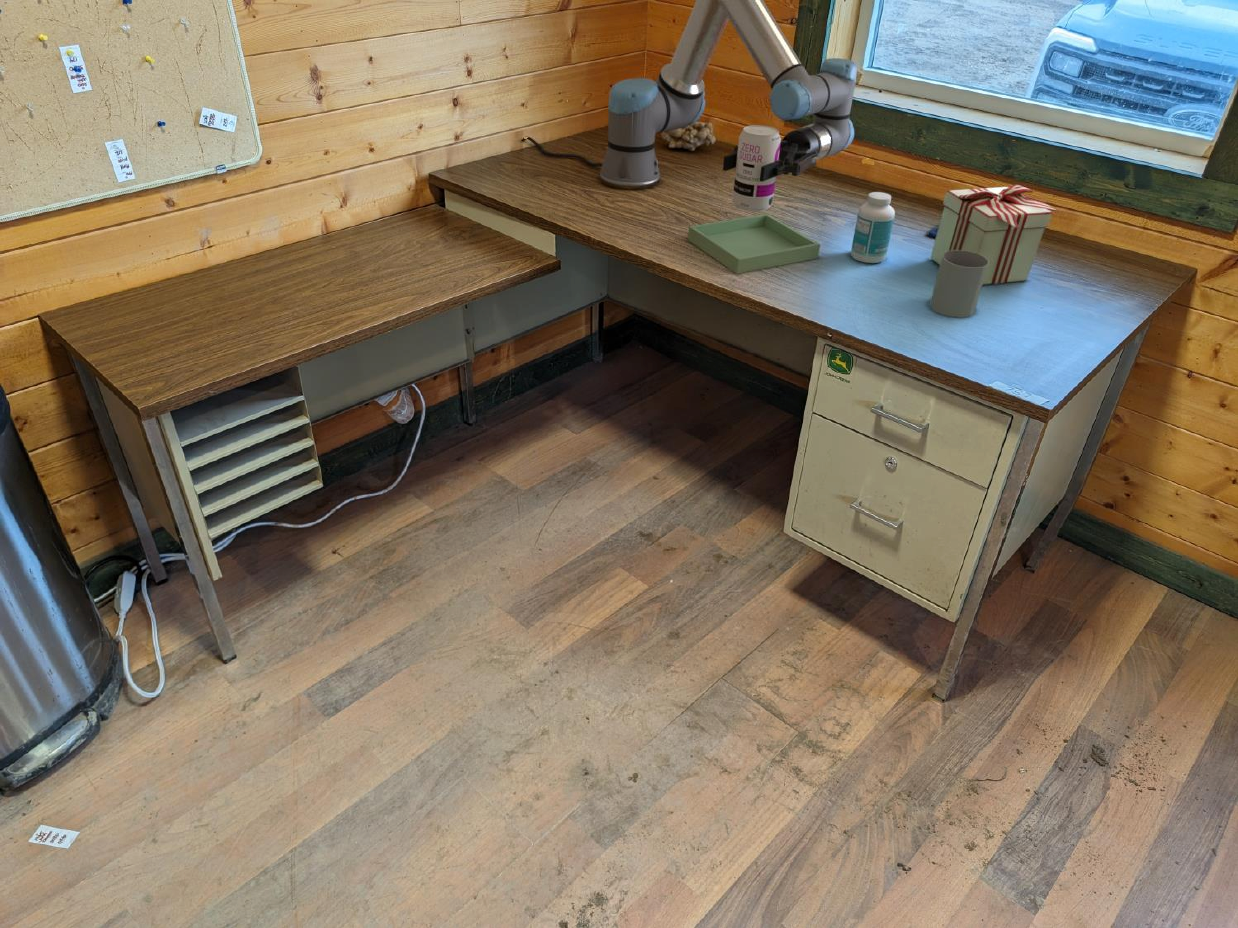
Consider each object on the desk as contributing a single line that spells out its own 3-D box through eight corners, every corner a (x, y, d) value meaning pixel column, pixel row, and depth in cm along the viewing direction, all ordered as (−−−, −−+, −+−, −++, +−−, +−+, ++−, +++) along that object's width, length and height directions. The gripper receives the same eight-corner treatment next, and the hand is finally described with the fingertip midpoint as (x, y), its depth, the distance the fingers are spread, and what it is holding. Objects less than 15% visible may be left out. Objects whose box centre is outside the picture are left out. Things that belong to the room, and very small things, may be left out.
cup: (923, 298, 173) (935, 250, 168) (963, 298, 174) (977, 250, 168) (939, 317, 167) (953, 268, 161) (981, 317, 167) (996, 268, 162)
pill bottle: (886, 254, 191) (900, 192, 183) (883, 267, 186) (897, 203, 178) (851, 248, 193) (864, 187, 185) (847, 261, 187) (859, 198, 180)
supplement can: (770, 200, 185) (780, 126, 176) (772, 213, 178) (783, 137, 169) (731, 197, 185) (739, 123, 176) (732, 211, 179) (740, 135, 170)
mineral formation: (687, 138, 258) (728, 146, 249) (657, 154, 251) (698, 163, 242) (685, 110, 253) (726, 117, 244) (654, 126, 246) (695, 134, 237)
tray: (687, 240, 194) (689, 226, 192) (765, 226, 202) (766, 213, 200) (737, 273, 180) (738, 259, 178) (817, 258, 188) (820, 244, 186)
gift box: (981, 295, 175) (1006, 211, 165) (923, 260, 189) (943, 180, 179) (1048, 285, 181) (1076, 202, 171) (987, 251, 194) (1009, 173, 184)
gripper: (845, 175, 184) (785, 201, 170) (761, 153, 195) (699, 175, 181) (851, 138, 180) (791, 162, 166) (765, 118, 191) (702, 138, 177)
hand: (743, 169), depth 174 cm, fingers closed on supplement can, 8 cm apart
